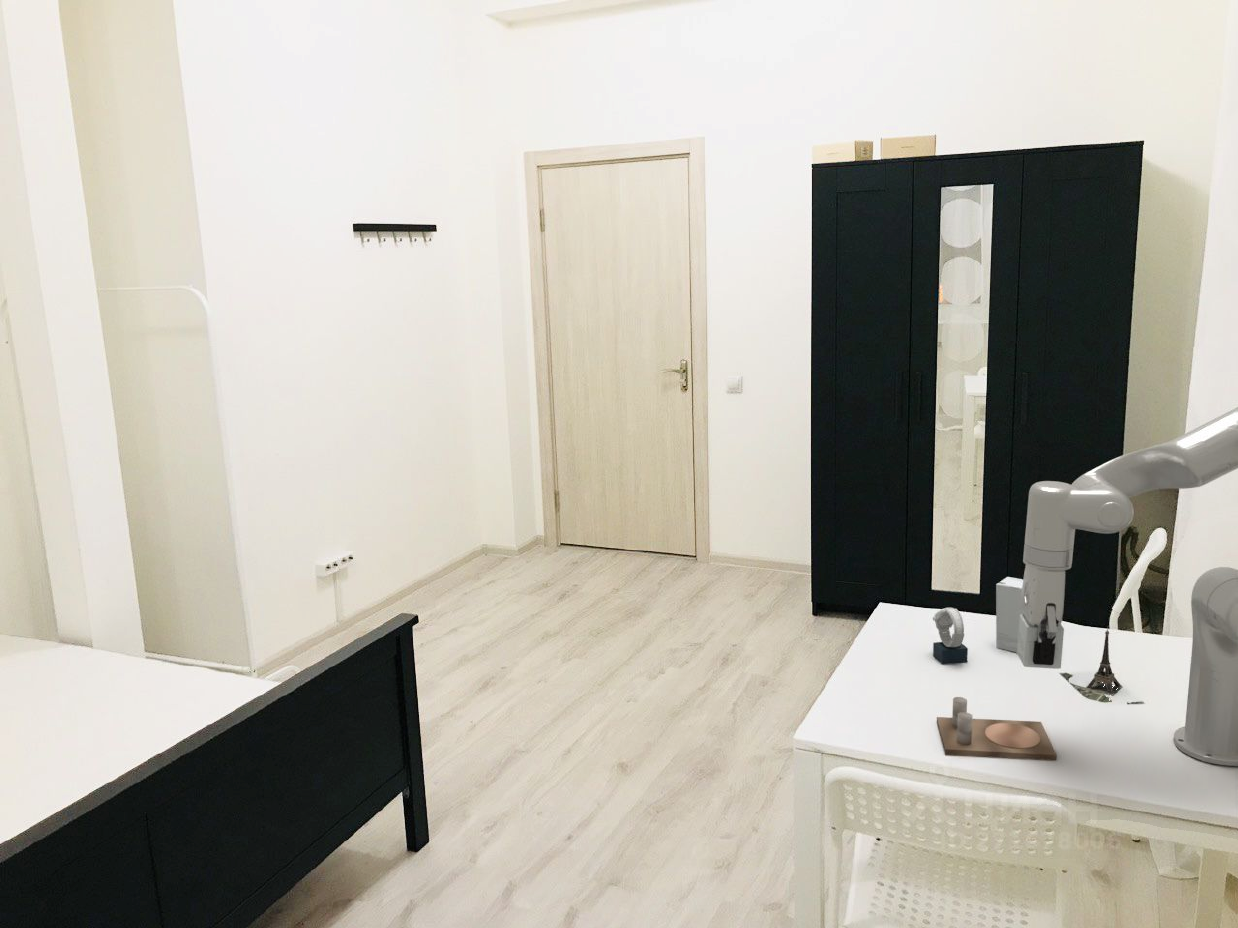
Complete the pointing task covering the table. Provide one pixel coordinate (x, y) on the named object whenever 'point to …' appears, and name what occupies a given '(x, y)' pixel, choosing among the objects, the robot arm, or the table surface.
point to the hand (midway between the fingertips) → (1038, 654)
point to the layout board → (992, 736)
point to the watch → (950, 647)
